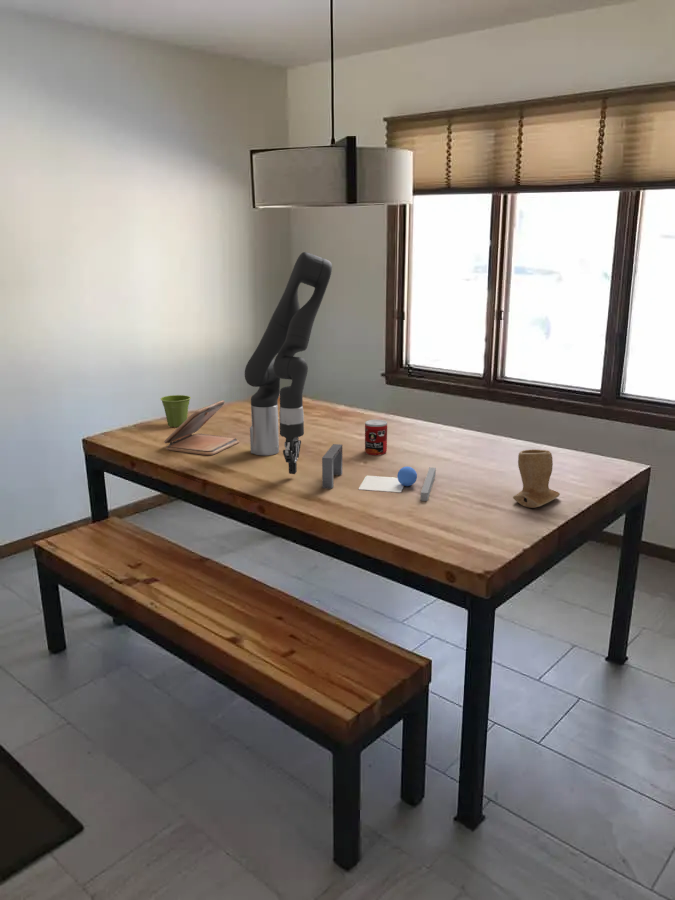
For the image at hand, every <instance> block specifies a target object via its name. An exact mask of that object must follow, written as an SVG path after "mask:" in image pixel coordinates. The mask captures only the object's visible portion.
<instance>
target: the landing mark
mask: <svg viewBox="0 0 675 900" xmlns="http://www.w3.org/2000/svg"><path fill="white" fill-rule="evenodd" d="M404 487H405V486H404V485H402V484H401V483H400V482H399V481H398V478H397V477H392V476H378V475H377V476H376V475H366V476H365V477H364V479H363V481H362V482H361V483H360V485H359V487H358V490H359V491H360V490H362V491H373V492H374V491H375V492H385V493H386V492H388V493H398V494H399V493H402V491H403V489H404Z"/></svg>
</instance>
